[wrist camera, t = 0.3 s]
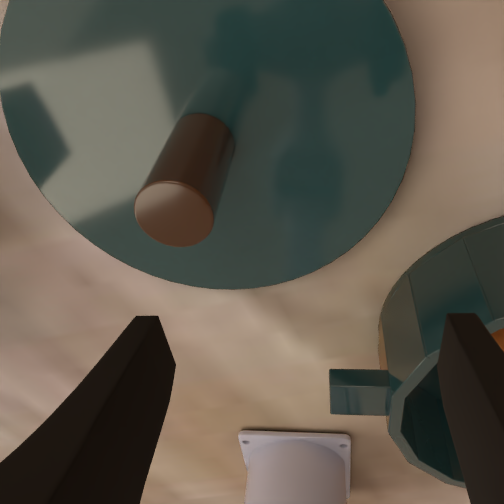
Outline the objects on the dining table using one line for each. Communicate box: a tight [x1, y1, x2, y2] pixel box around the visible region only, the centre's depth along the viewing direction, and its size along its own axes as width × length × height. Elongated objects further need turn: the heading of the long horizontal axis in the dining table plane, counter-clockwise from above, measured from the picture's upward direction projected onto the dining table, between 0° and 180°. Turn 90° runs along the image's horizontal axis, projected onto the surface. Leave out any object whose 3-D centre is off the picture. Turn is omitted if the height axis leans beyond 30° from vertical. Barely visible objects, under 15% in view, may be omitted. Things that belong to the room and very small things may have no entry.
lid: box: [0, 0, 416, 290], centre depth 17 cm, size 16×16×6 cm
